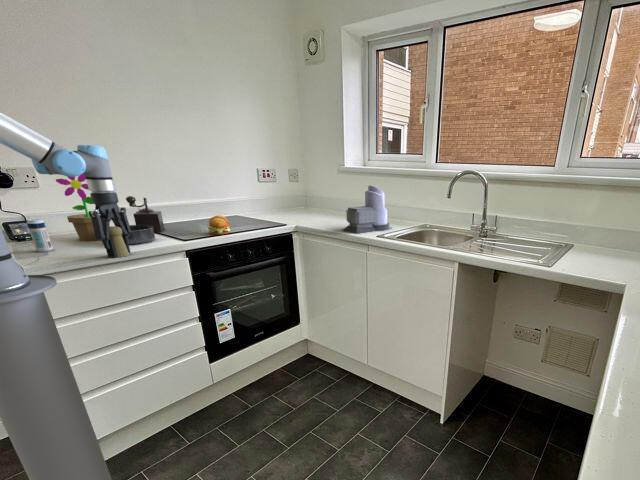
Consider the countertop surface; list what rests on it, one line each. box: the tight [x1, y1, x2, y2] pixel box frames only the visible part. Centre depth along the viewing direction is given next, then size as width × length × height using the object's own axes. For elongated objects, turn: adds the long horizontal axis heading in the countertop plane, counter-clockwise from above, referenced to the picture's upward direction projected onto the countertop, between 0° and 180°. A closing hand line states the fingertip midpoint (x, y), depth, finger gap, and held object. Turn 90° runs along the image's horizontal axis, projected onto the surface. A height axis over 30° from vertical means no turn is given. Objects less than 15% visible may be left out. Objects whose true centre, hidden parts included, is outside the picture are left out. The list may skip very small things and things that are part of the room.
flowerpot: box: [55, 174, 104, 242], centre depth 154 cm, size 14×14×30 cm
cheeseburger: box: [207, 214, 231, 236], centre depth 178 cm, size 10×11×10 cm
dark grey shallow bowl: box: [126, 224, 156, 245], centre depth 155 cm, size 17×17×6 cm
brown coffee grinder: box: [125, 195, 166, 234], centre depth 174 cm, size 16×11×18 cm
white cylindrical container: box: [26, 218, 54, 253], centre depth 135 cm, size 5×5×12 cm
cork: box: [110, 225, 131, 258], centre depth 132 cm, size 6×6×11 cm
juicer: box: [342, 184, 392, 235], centre depth 200 cm, size 30×16×24 cm, turn 139°
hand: (119, 254), depth 134 cm, fingers closed on cork, 6 cm apart
